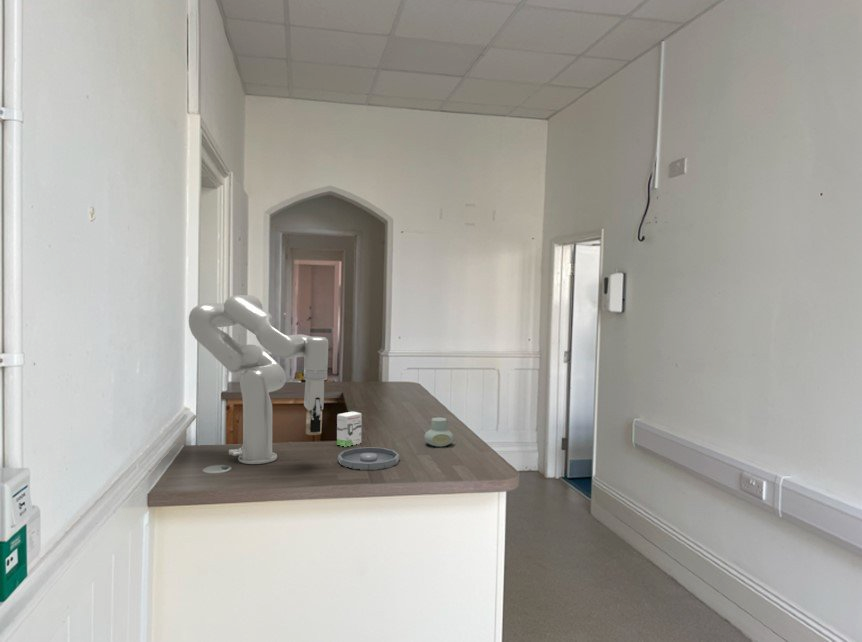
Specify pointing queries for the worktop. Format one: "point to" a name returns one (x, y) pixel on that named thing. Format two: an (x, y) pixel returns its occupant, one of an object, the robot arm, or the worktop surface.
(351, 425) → the ink box
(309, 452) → the worktop surface
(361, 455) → the ring tray
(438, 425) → the air freshener
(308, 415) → the beige cylinder
